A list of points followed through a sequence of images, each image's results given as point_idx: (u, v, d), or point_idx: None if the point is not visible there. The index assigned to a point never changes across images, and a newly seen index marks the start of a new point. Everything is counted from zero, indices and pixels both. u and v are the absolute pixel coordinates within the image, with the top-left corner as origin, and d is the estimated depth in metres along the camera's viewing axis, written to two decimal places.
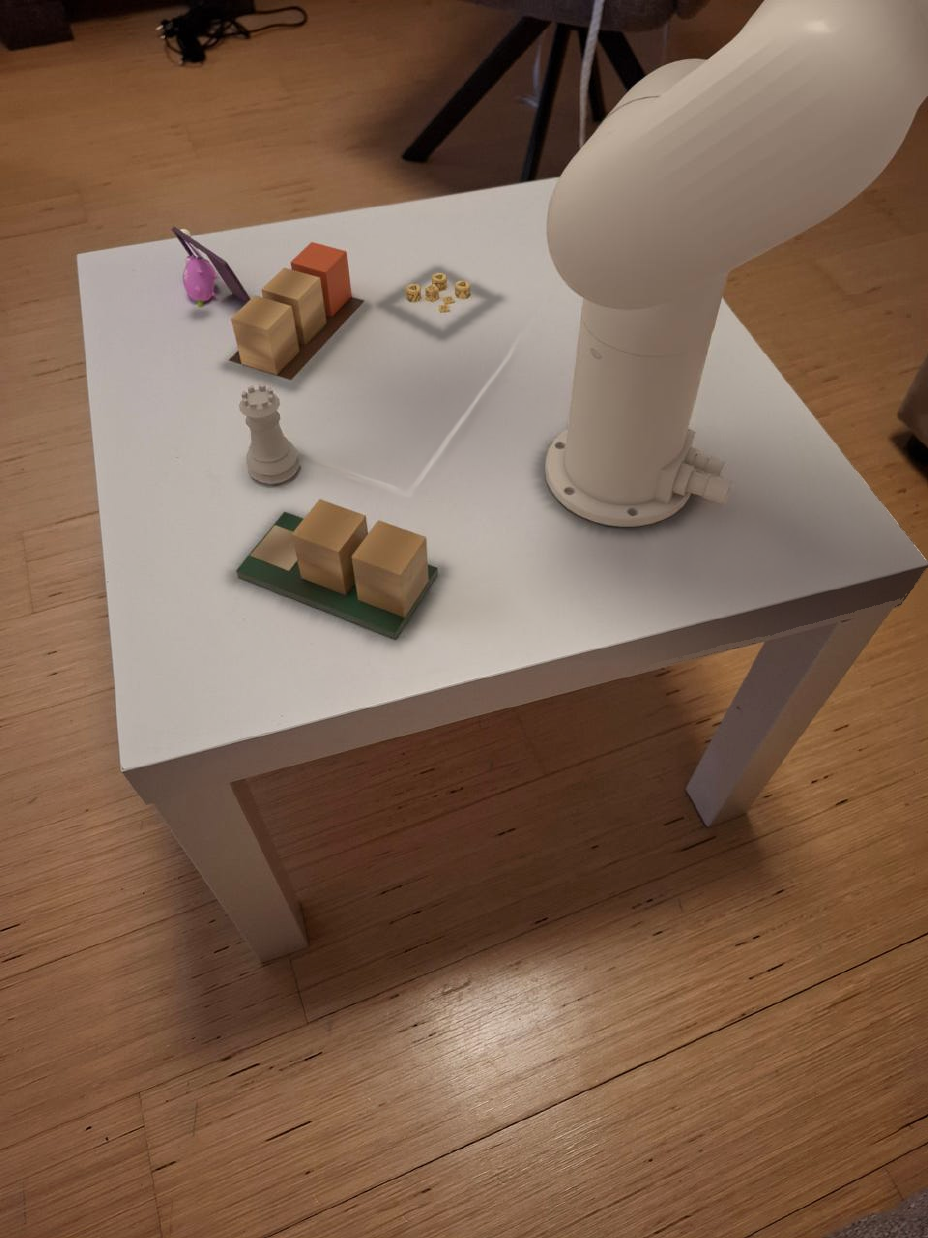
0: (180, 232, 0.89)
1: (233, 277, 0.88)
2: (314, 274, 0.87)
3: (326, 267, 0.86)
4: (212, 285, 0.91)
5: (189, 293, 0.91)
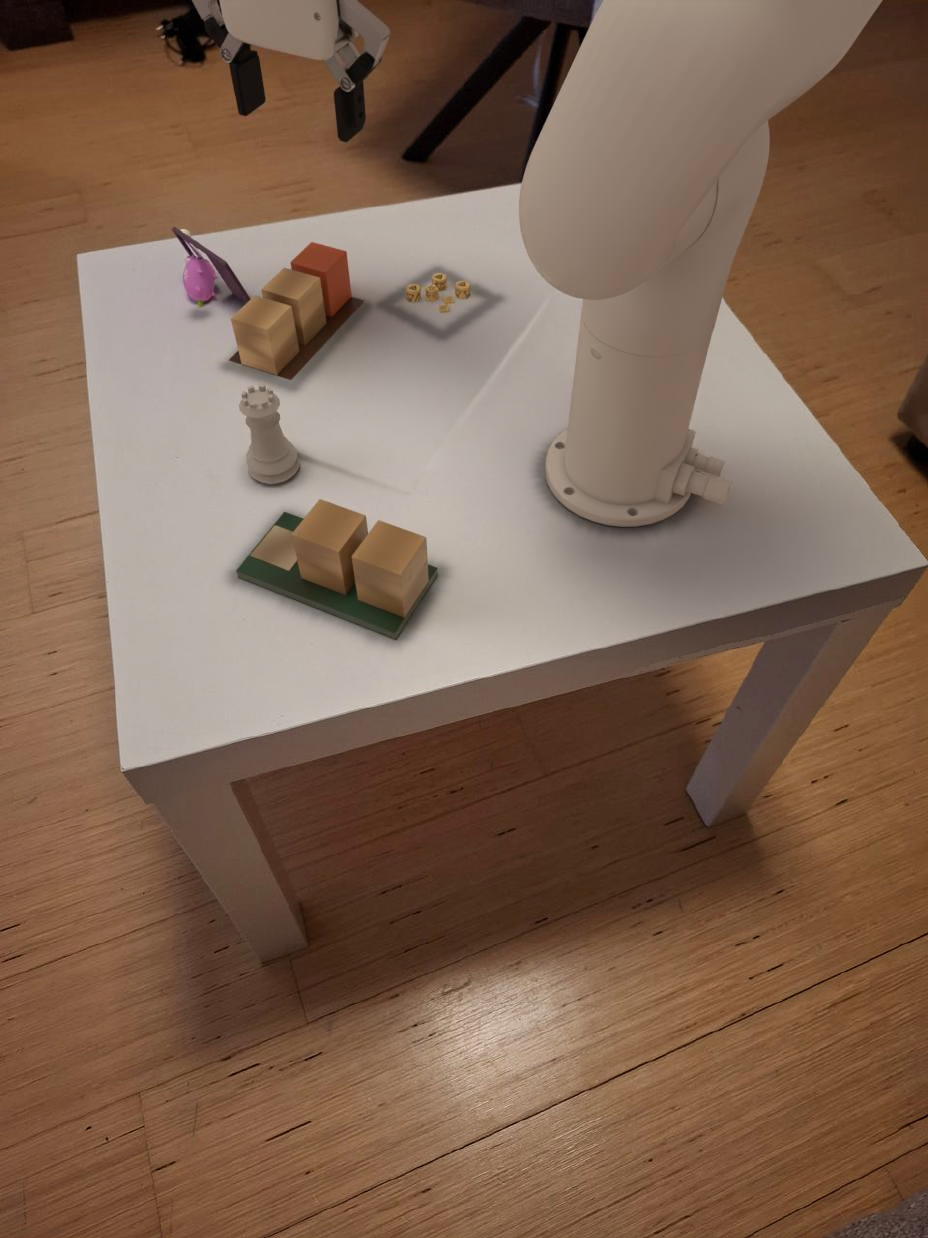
0: (180, 232, 0.89)
1: (233, 277, 0.88)
2: (314, 274, 0.87)
3: (326, 267, 0.86)
4: (212, 285, 0.91)
5: (189, 293, 0.91)
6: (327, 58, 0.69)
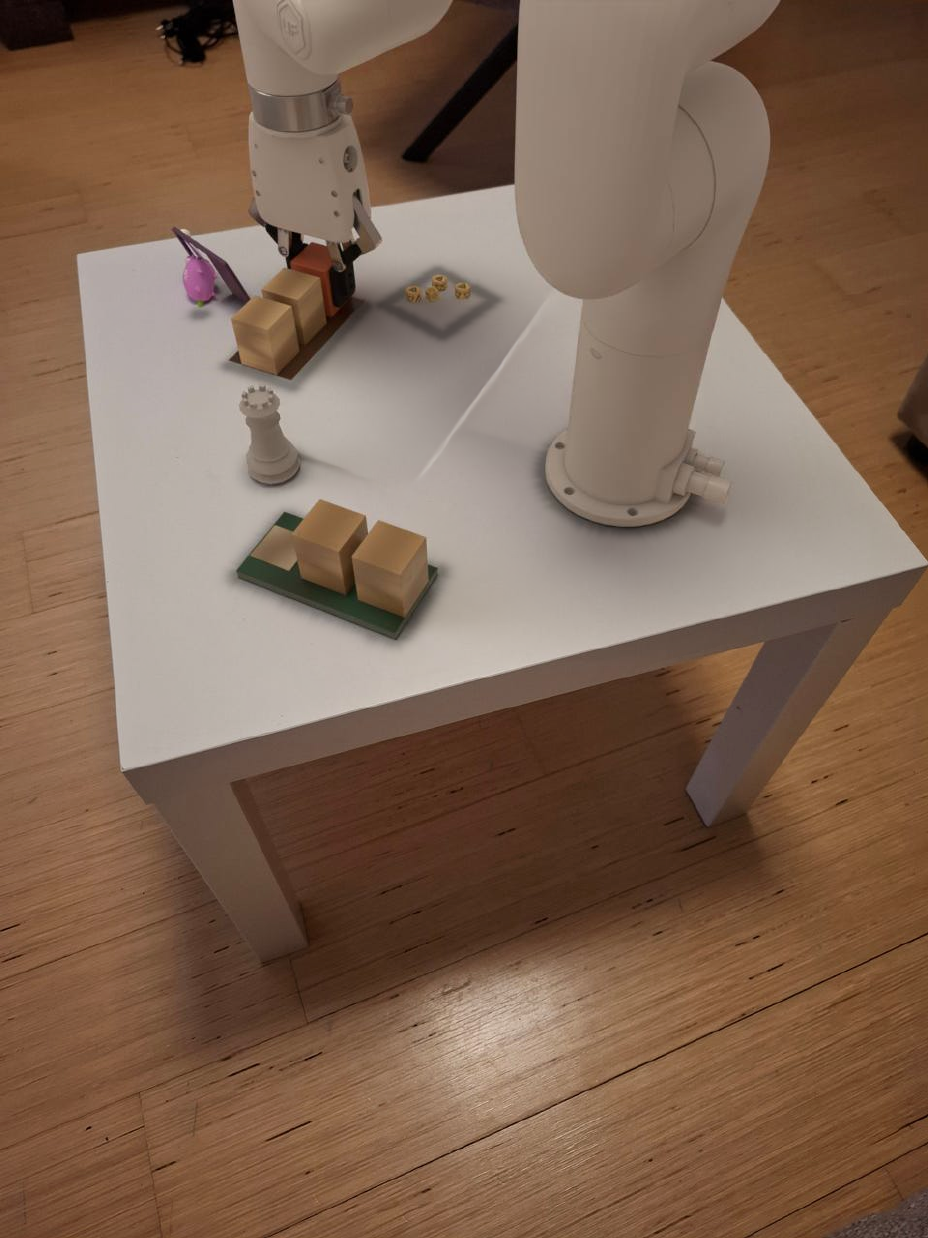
0: (180, 232, 0.89)
1: (233, 277, 0.88)
2: (314, 274, 0.87)
3: (326, 267, 0.86)
4: (212, 285, 0.91)
5: (189, 293, 0.91)
6: (331, 245, 0.84)
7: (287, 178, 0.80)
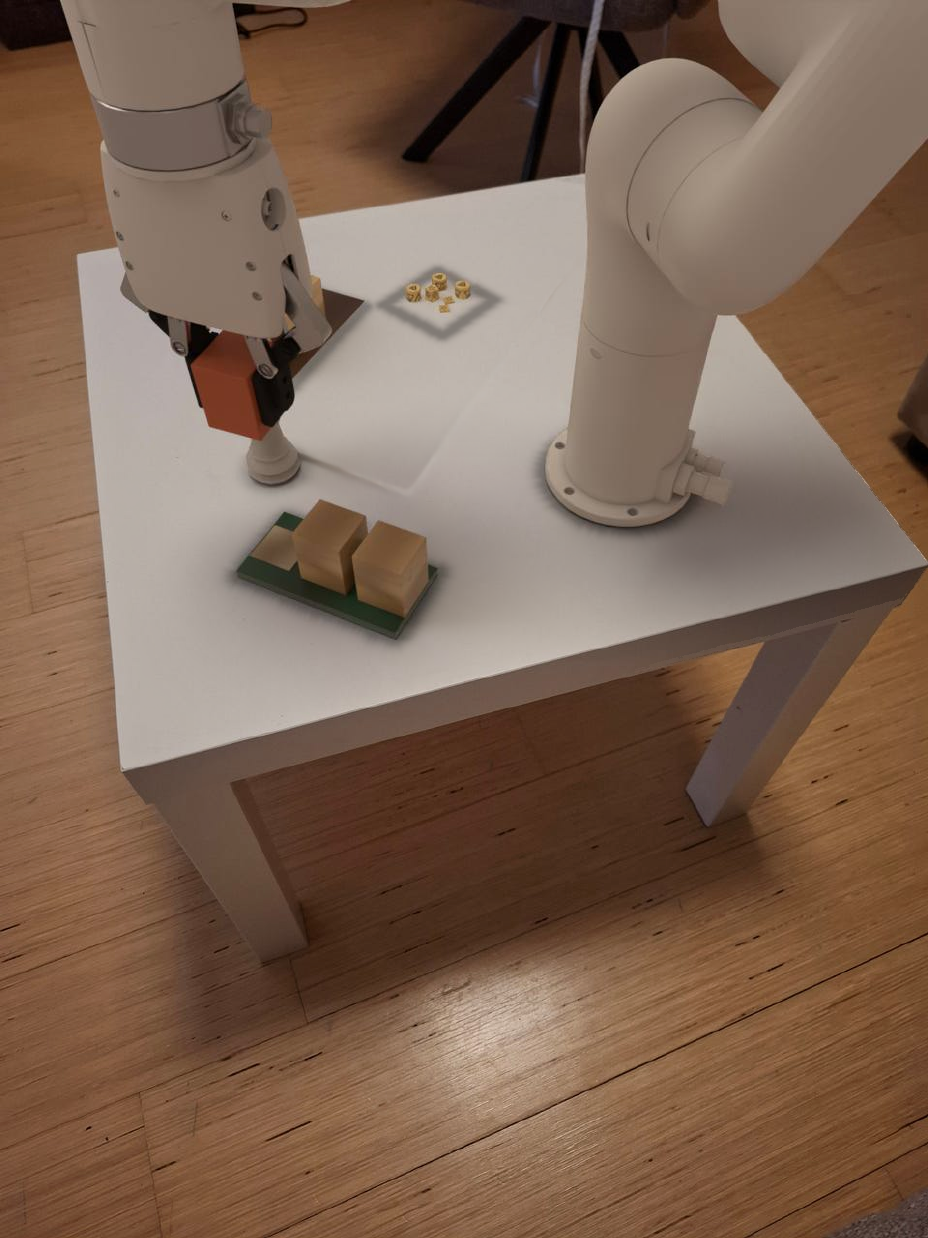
0: None
1: None
2: (229, 383, 0.56)
3: (247, 372, 0.56)
4: None
5: None
6: (252, 341, 0.54)
7: (172, 244, 0.49)
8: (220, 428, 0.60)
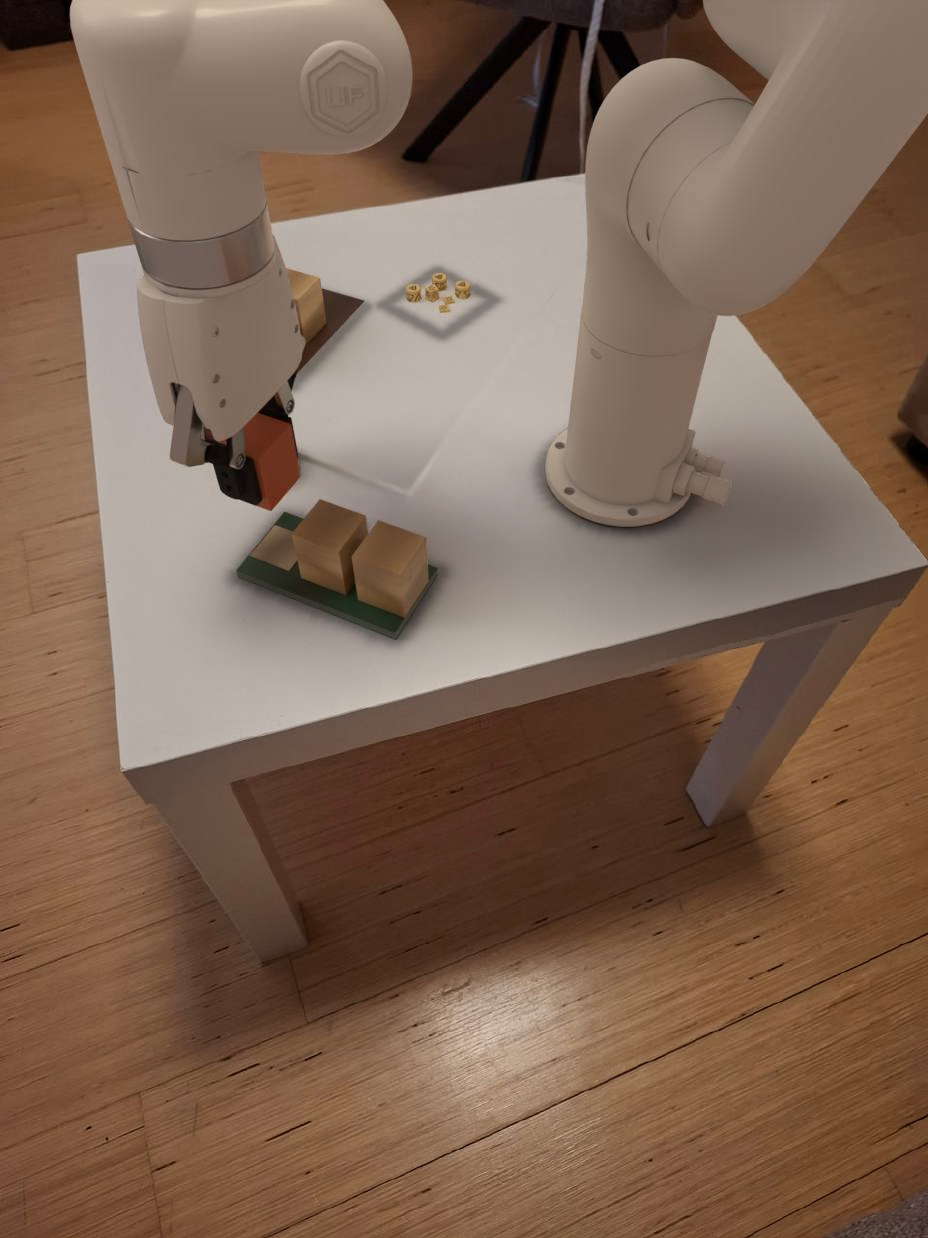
0: None
1: None
2: (282, 442, 0.62)
3: (280, 423, 0.63)
4: None
5: None
6: (281, 387, 0.61)
7: (255, 337, 0.54)
8: (278, 501, 0.65)
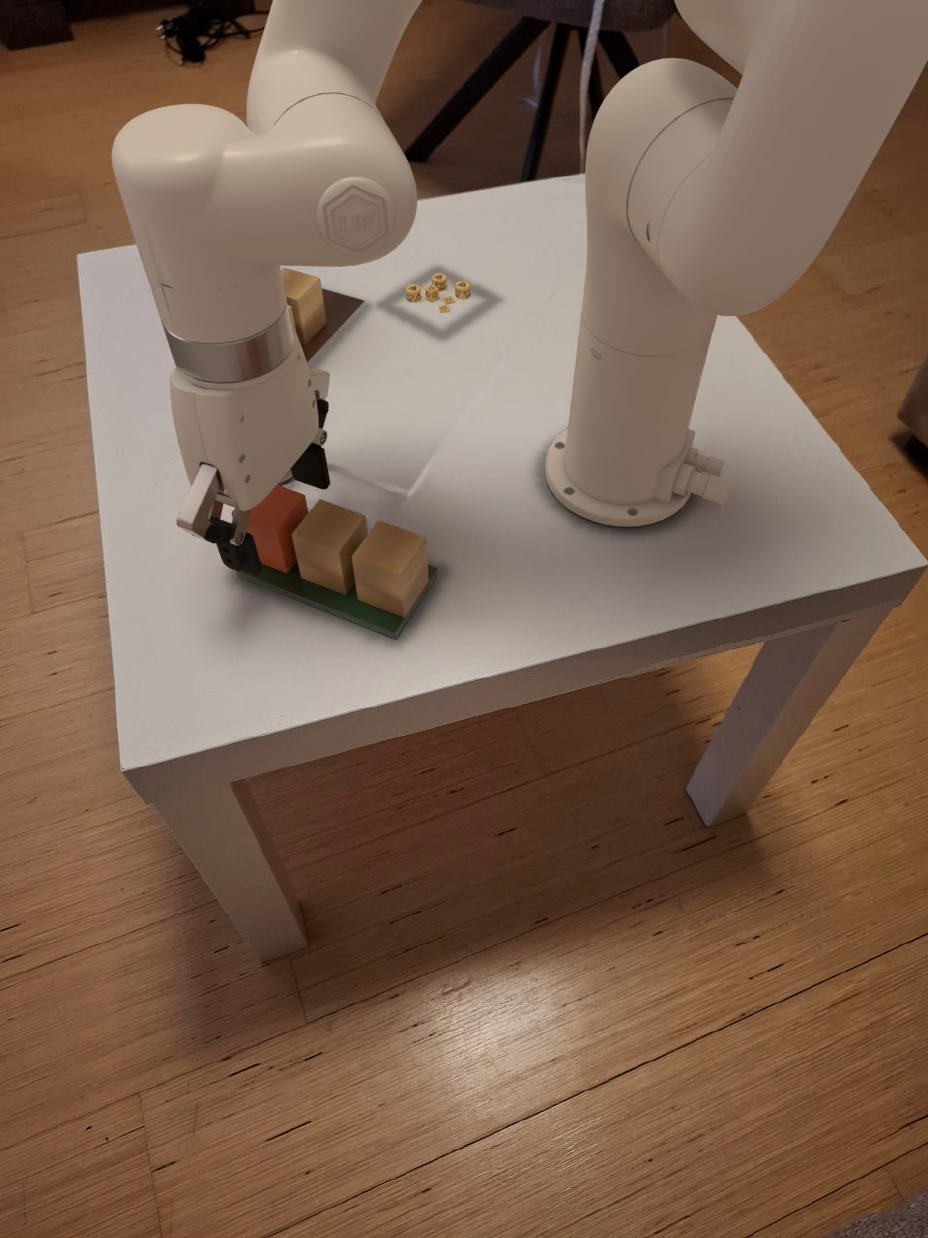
0: None
1: None
2: (297, 511, 0.68)
3: (295, 493, 0.68)
4: None
5: None
6: None
7: (277, 418, 0.59)
8: (293, 563, 0.70)
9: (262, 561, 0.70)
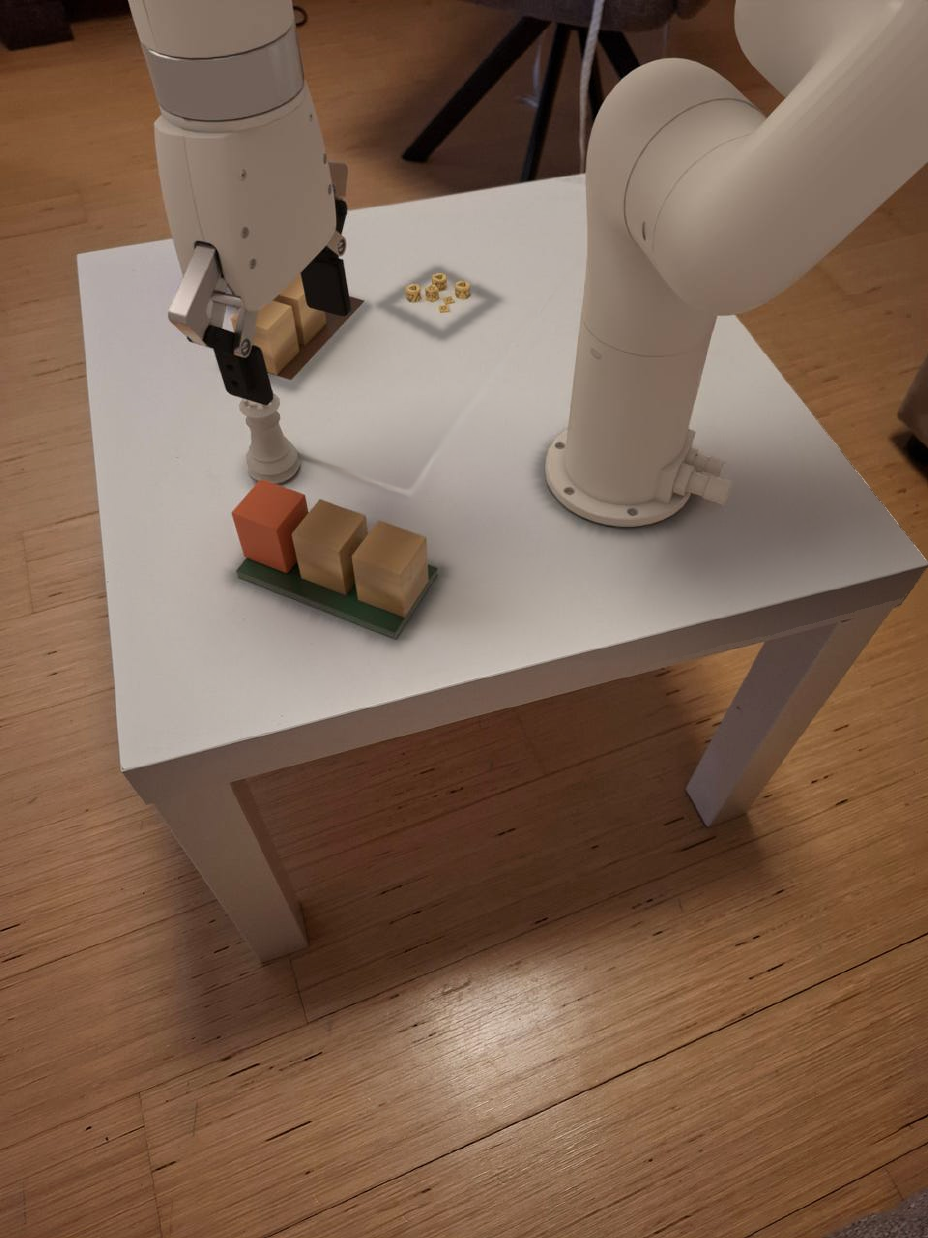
0: None
1: None
2: (297, 511, 0.68)
3: (295, 493, 0.68)
4: None
5: None
6: None
7: (286, 189, 0.49)
8: (293, 563, 0.70)
9: (262, 561, 0.70)
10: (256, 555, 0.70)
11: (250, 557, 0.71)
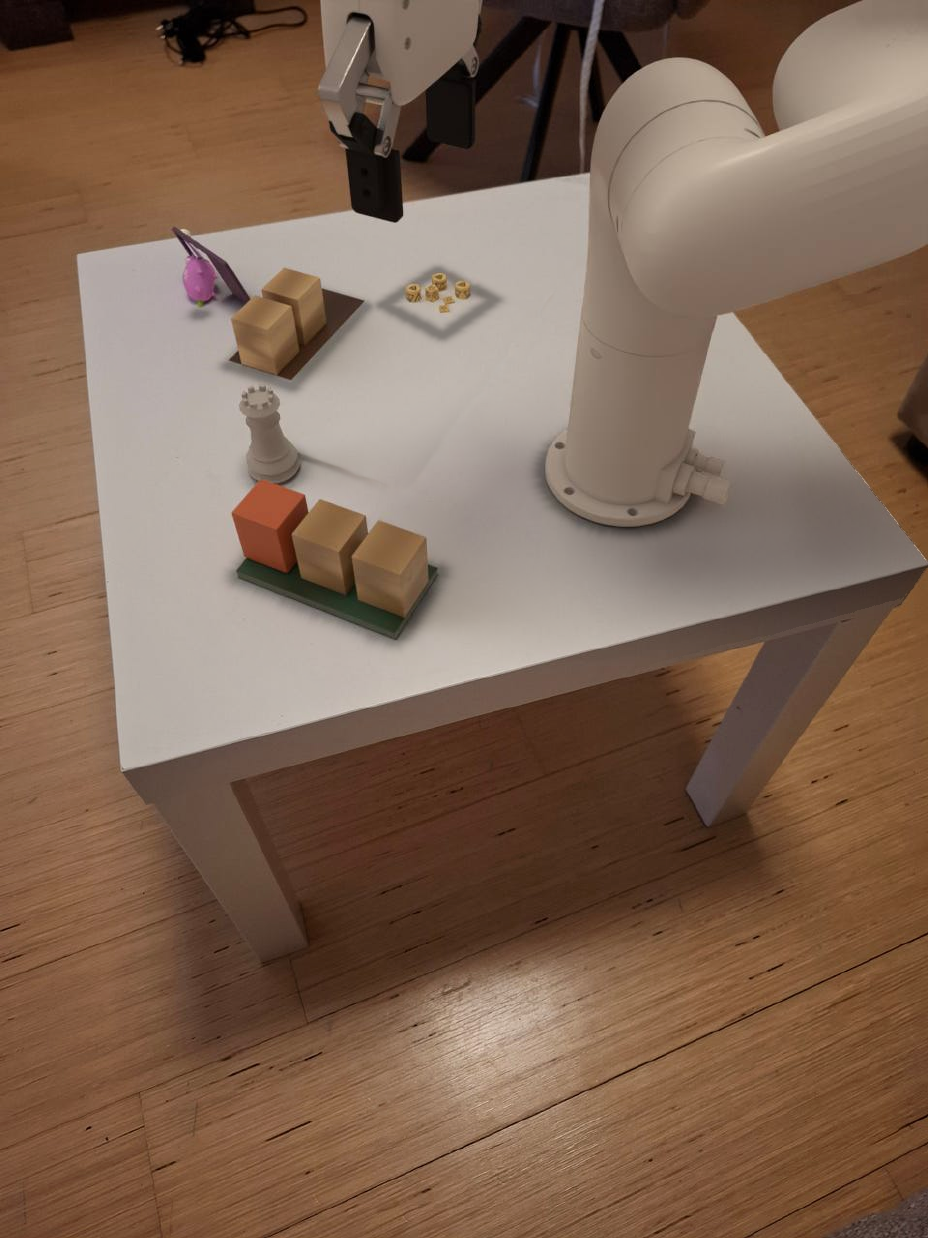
0: (180, 232, 0.89)
1: (233, 277, 0.88)
2: (297, 511, 0.68)
3: (295, 493, 0.68)
4: (212, 285, 0.91)
5: (189, 293, 0.91)
6: None
7: None
8: (293, 563, 0.70)
9: (262, 561, 0.70)
10: (256, 555, 0.70)
11: (250, 557, 0.71)
